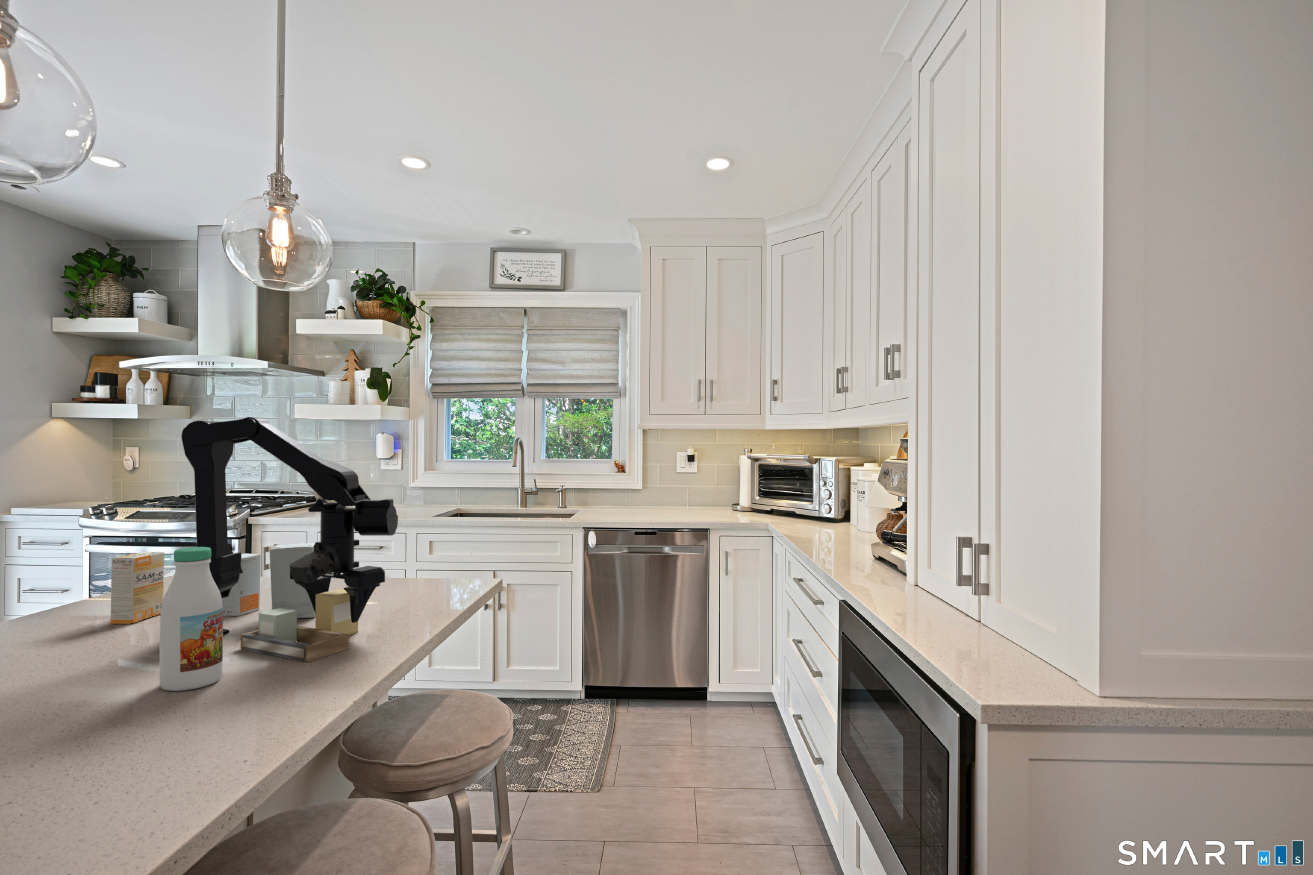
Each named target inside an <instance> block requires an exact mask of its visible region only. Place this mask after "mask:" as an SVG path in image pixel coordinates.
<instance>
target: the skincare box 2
mask: <svg viewBox="0 0 1313 875" xmlns="http://www.w3.org/2000/svg"><path fill="white" fill-rule="evenodd" d="M315 542H316V541H315ZM315 542H313V541H312V542H299V543H283V544H282V543H281V544H277V545H275V546H273V547H272V548H270V549H269V564H270V570H269V571H270V590H271V592H270V593H271V595H270V596H271V610H273V609H277V608H284V609H291V610H297V619H309V618H316V614H315V611H314V609H313V606H312V603H311V600H310V598H309V595H308V593H307V591H306V589H304V588H303V587H302V586H300V585H299V584H296V583H295V581H294V579H290V567H289V565H290V564H291V563H293V562H295V561H296V560H298V559H300V558H302V557H303V556H305V555H307V554H310V553H312V552H313V550H314V545H315Z"/></svg>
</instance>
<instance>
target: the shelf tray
mask: <svg viewBox="0 0 1313 875" xmlns="http://www.w3.org/2000/svg"><path fill="white" fill-rule="evenodd" d="M349 636H350V635H349V634H344V633H338V632H332V631H326V630H321V629H315V628H314V627H308V626H303V625H302V626H301V625H297V630H296V641H297V642H296V641H290V640H285V639H279V638H274V637H268V636H263V635H259V629H256V630H253V631H248V632H244V633H241V634H240V648H241V649H240V650H244V649H246V650H245V651H250V652H254V651H256V652H255V653H259V652H260V653H259V654H264V653H265V655H269V654H270V655H271V656H274V655H275V657H280V658H284V657H286V659H290V660H295V661H300V662H304V663H310V662H312V661H317V660H320V659H322V658H324V657H325V658H326V657H327V656H331V655H334V654H337V653H339V652H342V651H345V650H348V649H349V646H350V645H349V641H350V640H349V638H350V637H349ZM301 642H302V643H301Z"/></svg>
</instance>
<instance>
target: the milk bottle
mask: <svg viewBox="0 0 1313 875" xmlns="http://www.w3.org/2000/svg"><path fill="white" fill-rule="evenodd" d="M173 561H174V563H173V565H174V567H175V570H174V571H175V572H174V575H173V578H172V580H171V583H170V585H169V586H168V588H167V590H166V591H165V593H164V595H163V602H162V607H161V614H160V617H159V618H160V621H159V622H160V623H159V677H158V678H159V686H160V688H161V689H162V690H163V691H170V692H179V691H180V692H181V691H189V690H195V689H199V688H200V689H201V688H203V687H206V686H210V685H212V684H215V683H218V681H219V680H220V679H222V676H223V668H224V667H223V662H224V660H223V656H224V655H223V653H224V650H223V649H224V639H223V638H224V634H223V629H224V620H223V619H224V615H223V608H222V598H221V594H220V591H219V589H218V587H217V585H216V583H215V582H214V580H213V578H212V575H211V572H210V568H209V563H210V562H211V548H209V547H197V546H191V547H182V548H178V549H175V550H174V552H173Z"/></svg>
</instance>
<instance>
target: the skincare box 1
mask: <svg viewBox="0 0 1313 875" xmlns="http://www.w3.org/2000/svg"><path fill="white" fill-rule="evenodd" d="M241 556H242V557H241V569H242V571H243V573H241V574H240V576H239V580H238V582H237V583H236V584H235V585H234V586H233V587H232V589H231V591H230V594H229V596H228V597H226V598H222V608H223V616H224V617H225V616H226V617H228V616H229V617H230V616H231V617H239V616H242V615H245V614H249V613H253V612H257V611H259V610H260V607H261V606H260V599H261V598H260V597H261V596H260V595H261V594H260V593H261V561H262V560H261V554H260V553H259V554H258V553H241ZM256 610H257V611H256Z"/></svg>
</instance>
